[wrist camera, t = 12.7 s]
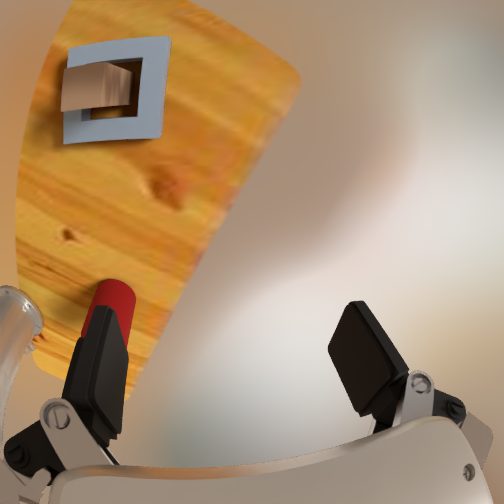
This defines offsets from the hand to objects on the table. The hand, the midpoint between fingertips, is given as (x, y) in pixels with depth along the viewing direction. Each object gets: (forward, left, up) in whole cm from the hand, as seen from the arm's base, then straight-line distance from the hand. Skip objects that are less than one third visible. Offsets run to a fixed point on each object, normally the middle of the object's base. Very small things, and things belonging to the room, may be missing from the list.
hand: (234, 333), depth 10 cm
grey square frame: (+10, +12, -26) cm, 31 cm away
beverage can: (-20, +14, -26) cm, 36 cm away
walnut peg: (+10, +12, -26) cm, 31 cm away
